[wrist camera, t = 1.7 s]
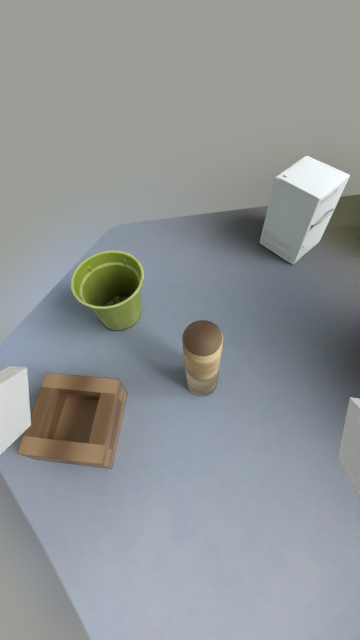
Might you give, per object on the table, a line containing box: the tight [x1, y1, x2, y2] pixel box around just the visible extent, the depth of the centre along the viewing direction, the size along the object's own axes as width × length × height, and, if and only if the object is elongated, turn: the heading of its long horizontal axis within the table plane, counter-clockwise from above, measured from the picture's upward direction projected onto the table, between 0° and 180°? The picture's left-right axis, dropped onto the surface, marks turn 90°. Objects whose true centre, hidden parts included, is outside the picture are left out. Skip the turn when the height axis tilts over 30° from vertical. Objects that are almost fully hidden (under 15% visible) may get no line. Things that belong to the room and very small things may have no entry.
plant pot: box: [71, 251, 144, 330], centre depth 43 cm, size 9×9×9 cm
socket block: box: [17, 373, 127, 469], centre depth 36 cm, size 9×9×5 cm
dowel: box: [182, 320, 223, 396], centre depth 35 cm, size 4×4×12 cm
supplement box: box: [259, 156, 350, 264], centre depth 47 cm, size 7×7×13 cm
